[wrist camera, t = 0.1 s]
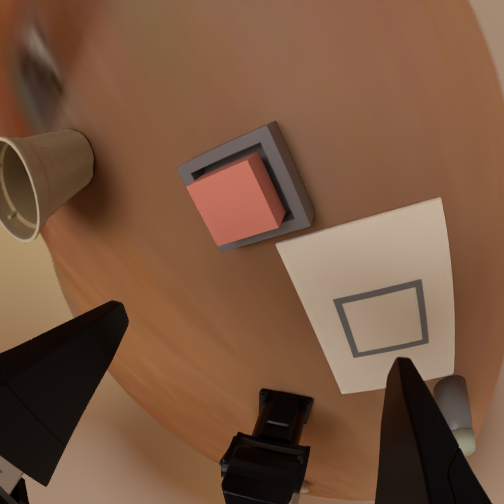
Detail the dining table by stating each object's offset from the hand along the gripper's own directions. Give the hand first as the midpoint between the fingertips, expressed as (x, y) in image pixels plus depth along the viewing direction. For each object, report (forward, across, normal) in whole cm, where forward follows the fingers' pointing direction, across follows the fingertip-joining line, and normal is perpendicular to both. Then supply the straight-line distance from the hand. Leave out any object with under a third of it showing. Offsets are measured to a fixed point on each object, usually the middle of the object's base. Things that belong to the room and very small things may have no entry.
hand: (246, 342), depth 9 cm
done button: (+12, +4, 0) cm, 13 cm away
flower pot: (+15, +22, -2) cm, 27 cm away
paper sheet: (+15, -8, +11) cm, 20 cm away
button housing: (+15, +4, 0) cm, 15 cm away
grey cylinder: (+15, -19, +20) cm, 31 cm away
